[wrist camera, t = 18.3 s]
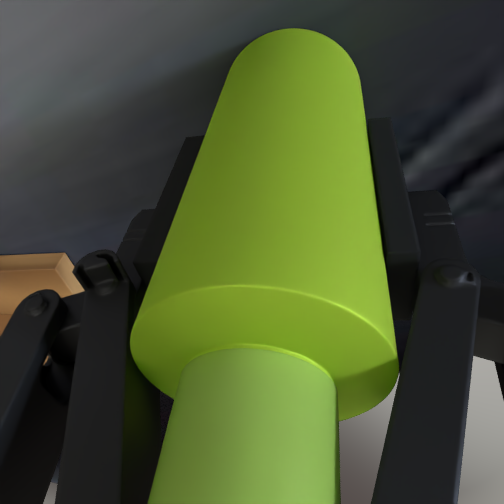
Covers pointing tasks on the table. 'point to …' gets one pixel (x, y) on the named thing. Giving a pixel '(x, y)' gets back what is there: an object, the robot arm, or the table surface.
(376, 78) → the table surface
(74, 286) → the base
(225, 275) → the soap dispenser
